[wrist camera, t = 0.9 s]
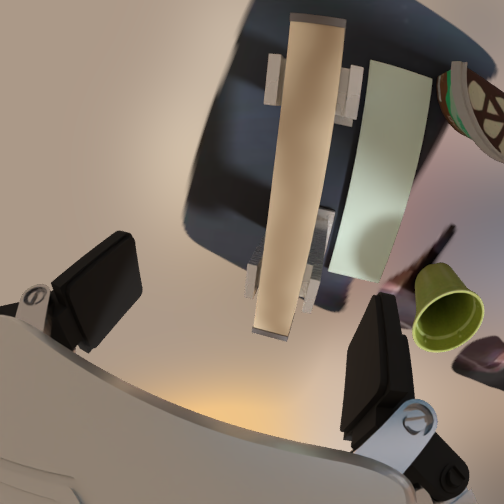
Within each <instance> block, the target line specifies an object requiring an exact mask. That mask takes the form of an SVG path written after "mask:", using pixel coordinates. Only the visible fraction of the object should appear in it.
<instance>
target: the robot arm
mask: <svg viewBox="0 0 504 504" xmlns="http://www.w3.org/2000/svg"><path fill="white" fill-rule="evenodd" d="M51 284H52V287H53V291H50V289H49V287H48V286H47V285H44V284H37V285H34V286H32V287H30V288H28V289H27V290H26V291H25V292H24V293H23V294H22V296H21V299H20V302H18V303H13V304H9V305H4V306H0V504H478V503H477V500H476V498H475V496H474V493H473V491H472V489H469V490H468V489H467V485H468V481H469V470H468V467H467V465H466V464H465V462H464V461H463V460H462V459H461V458H460V457H459V456H458V455H457V454H456V453H455V452H454V451H453V450H452V449H451V448H450V447H449V446H448V444H447V443H445V441H444V440H443V439H442V438H441V437H440V436H439V435H438V434H437V433H436V432H435V431H436V428H437V423H438V421H437V415H436V413H435V411H434V409H433V408H432V407H431V405H430V404H428V403H427V402H425V401H423V400H420V399H415V396H414V385H413V375H412V367H411V359H410V352H409V345H408V339H407V337H406V335H403V334H402V332H401V326H400V320H399V314H398V309H397V303H396V298H395V296H394V295H391V294H387V293H382V292H379V293H378V295H373V296H372V298H371V300H370V302H369V304H368V307H367V309H366V311H365V314H364V315H363V318H362V320H361V322H360V324H359V326H358V328H357V331H356V333H355V334H354V337H353V339H352V341H351V343H350V345H349V347H348V351H347V363H346V377H345V390H344V400H343V409H342V417H341V425H340V431H341V432H344V439H343V440H349V441H352V443H351V447H352V448H353V450H352V451H351V452H346V451H342V450H336V449H331V448H326V447H321V446H316V445H311V444H306V443H301V442H296V441H292V440H287V439H283V438H279V437H275V436H271V435H267V434H263V433H259V432H255V431H251V430H248V429H245V428H241V427H238V426H235V425H231V424H228V423H225V422H222V421H219V420H215V419H213V418H210V417H207V416H204V415H202V414H199V413H196V412H194V411H191V410H188V409H186V408H183V407H181V406H178V405H176V404H173V403H171V402H168V401H166V400H164V399H161V398H159V397H157V396H155V395H152V394H150V393H148V392H146V391H144V390H142V389H140V388H137V387H135V386H133V385H131V384H129V383H127V382H125V381H123V380H121V379H119V378H117V377H116V376H114V375H112V374H110V373H108V372H106V371H104V370H103V369H101V368H99V367H97V366H96V365H94V364H92V363H90V362H88V361H87V360H85V359H84V358H82V357H80V356H79V355H77V354H76V353H75V352H76V348H75V347H76V346H77V345H78V346H79V347H80V349H82V350H84V351H85V352H87V353H89V352H90V351H91V350H92V349H93V348H96V347H97V346H98V345H99V344H100V343H101V341H102V340H103V339H104V338H105V336H106V335H107V334H108V333H109V332H110V331H111V330H112V328H113V327H114V326H115V325H116V324H117V322H118V321H119V320H120V319H121V318H122V317H123V316H124V314H125V313H126V312H127V311H128V310H129V309H130V308H131V306H132V305H133V304H134V303H135V302H136V301H137V300H138V298H139V297H140V296H141V294H142V283H141V278H140V272H139V266H138V259H137V253H136V246H135V240H134V238H133V237H132V235H131V234H130V233H127V232H124V231H117V232H115V233H113V234H112V235H111V236H109V237H108V238H107V239H105V240H104V241H103V242H101V243H100V244H99V245H97V246H96V247H95V248H93V249H92V250H91V251H89V252H88V253H87V254H86V255H84V256H83V257H82V258H80V259H79V260H78V261H77V262H75V263H74V264H73V265H72V266H71V267H69V268H68V269H67V270H66V271H65V272H63V273H62V274H61V275H60V276H58V277H57V278H56V279H55V280H54V281H53V282H51Z"/></svg>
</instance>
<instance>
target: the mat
mask: <svg viewBox="0 0 504 504" xmlns="http://www.w3.org/2000/svg"><path fill="white" fill-rule="evenodd" d="M432 80H433V79H431V78H428V77H426V76H423V75H420V74H417V73H414V72H411V71H408V70H405V69H402V68H399V67H395V66H392V65H389V64H385V63H381V62H378V61H374V60H370V66H369V75H368V83H367V90H366V97H365V104H364V111H363V117H362V123H361V129H360V135H359V141H358V146H357V151H356V157H355V162H354V167H353V172H352V176H351V181H350V186H349V190H348V195H347V199H346V203H345V208H344V212H343V216H342V220H341V224H340V228H339V232H338V236H337V240H336V243H335V247H334V251H333V254H332V258H331V262H330V265H329V269H328V271H329V272H333V273H337V274H342V275H346V276H350V277H354V278H358V279H363V280H367V281H371V282H375V283H379V281H380V279H381V276H382V274H383V271H384V269H385V266H386V263H387V261H388V258H389V255H390V253H391V250H392V247H393V244H394V242H395V239H396V236H397V233H398V230H399V227H400V224H401V221H402V218H403V214H404V211H405V208H406V205H407V201H408V198H409V195H410V191H411V187H412V184H413V180H414V176H415V172H416V168H417V164H418V160H419V156H420V151H421V147H422V142H423V137H424V132H425V127H426V121H427V115H428V109H429V103H430V96H431V88H432Z"/></svg>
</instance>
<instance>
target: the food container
mask: <svg viewBox="0 0 504 504" xmlns="http://www.w3.org/2000/svg"><path fill="white" fill-rule="evenodd" d="M436 91H437V100H438V103H439V105H440V108H441V111H442V113H443V115H444V116H445V118H446V120H447V121H448V123H449V124H450V125H451V126H452V127H453V128H454V129H455V130H456V131H457V132H459V133H460V134H462V135H464V136H466V137H468V138H470V139H472V140H473V141H474V142H475V144H476V145H477V146H478V147H479V148H480V149H481V150H482V151H483V152H484V153H486V154H487V155H488V156H489V157H491V158H493V159H494V160H496V161H499V162H501V163H504V92H502V91H501V90H499V89H498V88H497V87H495V86H494V85H492V84H491V83H489V82H488V81H487V80H485V79H484V78H482V77H481V76H479V75H478V74H476V73H475V72H473V71H472V70H470V69H468V68H467V62H464V63H463V62H461V61H452V64H451V70H449V71H447V72H445V73H443V74H442V75H440V76H438V77H437V83H436Z"/></svg>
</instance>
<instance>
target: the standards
mask: <svg viewBox="0 0 504 504" xmlns="http://www.w3.org/2000/svg"><path fill="white" fill-rule="evenodd" d="M286 60H287V59H286V58H285V57H284V56H282V55H281V54H269V58H268V68H267V77H266V87H265V97H264V104H267V105H275V106H281V105H282V96H283V87H284V78H285V69H286ZM363 69H364V68H363V67H359V66H354V65H351V67H350V69H347V68H342V67H341V73H340V81H339V89H338V97H337V104H336V111H335V118H334V123H335V124H340V125H345V126H349V127H352V123H353V119H354V120H357V113H358V107H359V100H360V93H361V85H362V77H363ZM334 215H335V210H331V209H326V208H322V207H319V209H318V214H317V219H316V223H315V228H314V233H313V237H312V242H311V246H310V251H309V255H308V260H307V264H306V268H305V272H304V276H303V281H302V285H301V289H300V293H299V296H300V297H305V300H304V304H303V308H302V312H305V313H309V314H311V310H312V307H313V304H314V301H315V298H316V294H317V291H318V287H319V284H320V280H321V273H322V267H323V260H324V255H325V251H326V247H327V243H328V239H329V235H330V231H331V227H332V223H333V219H334ZM265 236H266V233H265V235H264V236H263V238H262V240H261V241H260V243H259V245H258V247H257V248H256V250H255V252H254V254H253V255H252V257H251V259H250V260H249V262H248V265H247V276H246V286H245V296H244V297H246V298H250V299H253V298H254V296H255V294H256V292H257V289H258V288H259V282H260V274H261V267H262V259H263V252H264V244H265Z"/></svg>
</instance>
